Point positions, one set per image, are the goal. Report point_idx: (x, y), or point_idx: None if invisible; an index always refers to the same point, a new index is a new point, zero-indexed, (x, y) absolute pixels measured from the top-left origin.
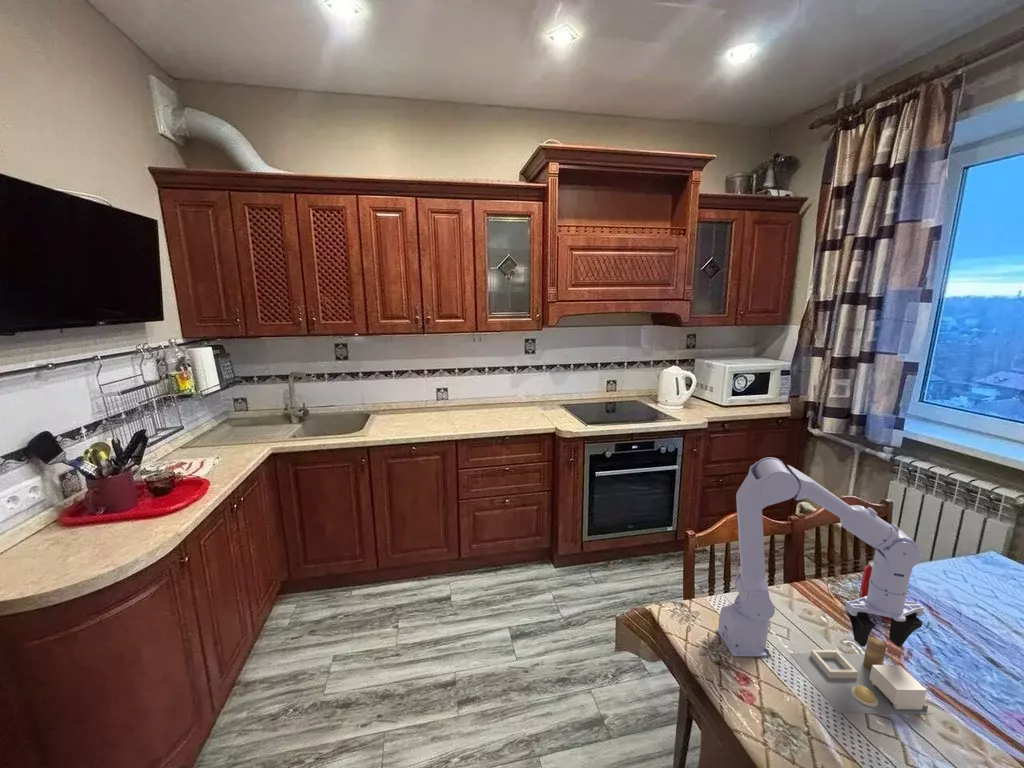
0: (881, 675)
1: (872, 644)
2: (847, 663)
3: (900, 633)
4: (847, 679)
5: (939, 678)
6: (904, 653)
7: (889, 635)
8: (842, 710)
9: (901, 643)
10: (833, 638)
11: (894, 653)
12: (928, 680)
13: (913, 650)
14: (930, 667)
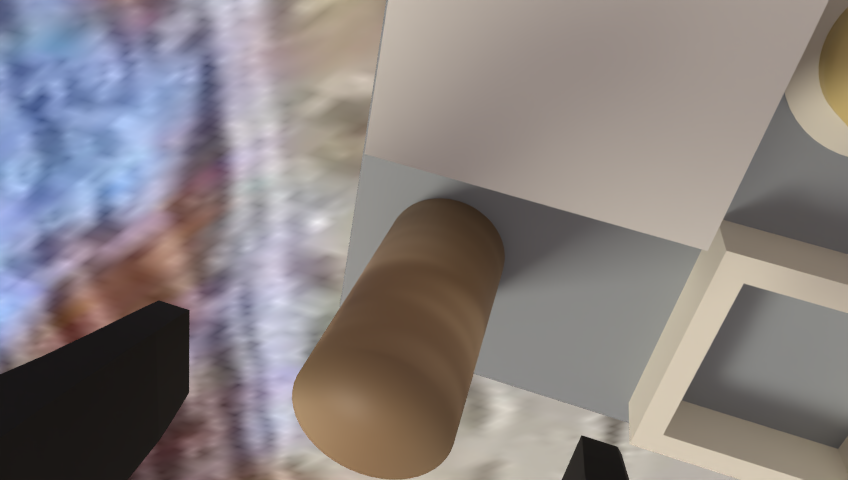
0: (773, 108)
1: (452, 421)
2: (707, 339)
3: (60, 440)
4: (822, 234)
5: (14, 53)
6: (79, 259)
7: (165, 429)
8: None
9: (138, 329)
10: (432, 471)
11: (142, 278)
12: (104, 61)
13: (5, 256)
14: (3, 136)
